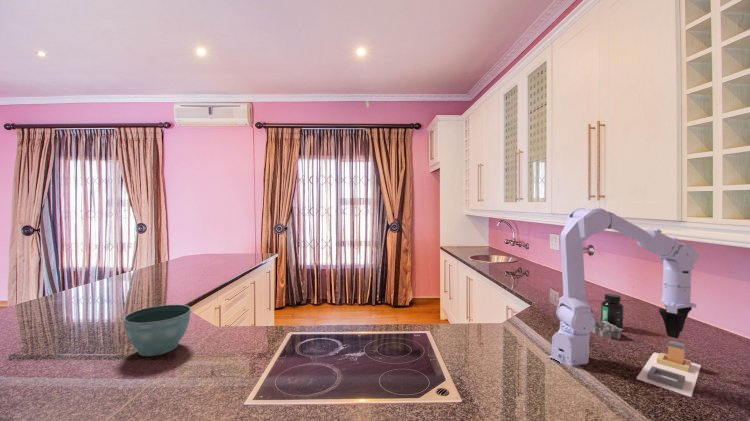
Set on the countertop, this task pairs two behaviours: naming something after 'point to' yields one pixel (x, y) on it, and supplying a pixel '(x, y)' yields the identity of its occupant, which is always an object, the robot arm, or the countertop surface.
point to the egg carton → (607, 330)
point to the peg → (676, 352)
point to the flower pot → (157, 328)
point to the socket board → (670, 374)
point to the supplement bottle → (612, 310)
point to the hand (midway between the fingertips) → (674, 333)
